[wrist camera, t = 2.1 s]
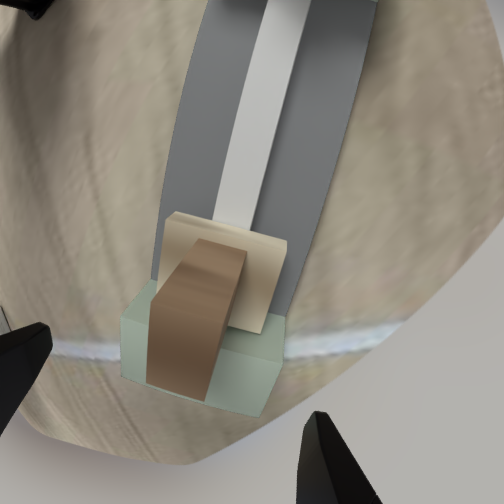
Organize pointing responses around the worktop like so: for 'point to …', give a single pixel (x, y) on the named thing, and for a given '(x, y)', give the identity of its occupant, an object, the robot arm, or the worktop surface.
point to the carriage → (206, 298)
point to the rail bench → (296, 130)
